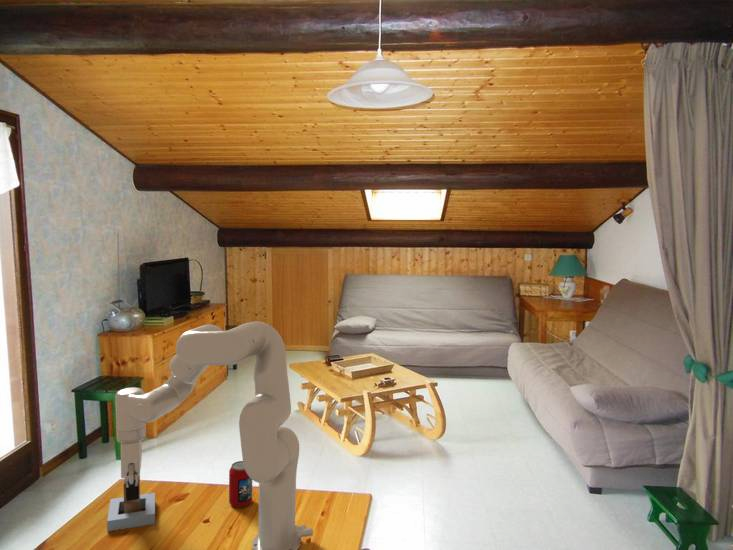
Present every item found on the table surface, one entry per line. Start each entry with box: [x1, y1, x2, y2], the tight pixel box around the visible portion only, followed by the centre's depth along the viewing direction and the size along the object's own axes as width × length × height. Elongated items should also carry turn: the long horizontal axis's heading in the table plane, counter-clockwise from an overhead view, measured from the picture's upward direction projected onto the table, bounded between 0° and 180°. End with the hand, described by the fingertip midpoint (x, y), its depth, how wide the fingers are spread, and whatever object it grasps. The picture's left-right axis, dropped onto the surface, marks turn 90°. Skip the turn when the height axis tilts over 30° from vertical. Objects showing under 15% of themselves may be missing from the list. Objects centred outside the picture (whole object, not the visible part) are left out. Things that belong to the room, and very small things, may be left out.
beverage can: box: [228, 460, 253, 508], centre depth 163 cm, size 7×7×12 cm
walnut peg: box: [123, 474, 141, 514], centre depth 155 cm, size 4×4×11 cm
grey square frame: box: [106, 492, 156, 532], centre depth 155 cm, size 12×12×3 cm
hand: (133, 491), depth 154 cm, fingers open, 9 cm apart
